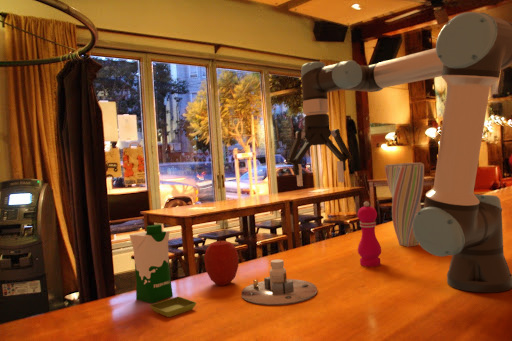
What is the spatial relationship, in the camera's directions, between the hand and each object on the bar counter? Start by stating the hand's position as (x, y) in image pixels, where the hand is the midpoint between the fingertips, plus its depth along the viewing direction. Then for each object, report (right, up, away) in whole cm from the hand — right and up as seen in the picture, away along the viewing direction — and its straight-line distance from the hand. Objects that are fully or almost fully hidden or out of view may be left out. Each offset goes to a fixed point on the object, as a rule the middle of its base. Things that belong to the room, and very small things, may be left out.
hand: (320, 184), depth 138 cm
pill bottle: (-14, -28, -18) cm, 36 cm away
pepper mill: (+16, -26, +5) cm, 31 cm away
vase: (+37, -23, +29) cm, 52 cm away
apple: (-29, -29, -6) cm, 42 cm away
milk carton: (-48, -31, -15) cm, 59 cm away
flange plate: (-14, -28, -18) cm, 36 cm away
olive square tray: (-40, -31, -26) cm, 57 cm away
